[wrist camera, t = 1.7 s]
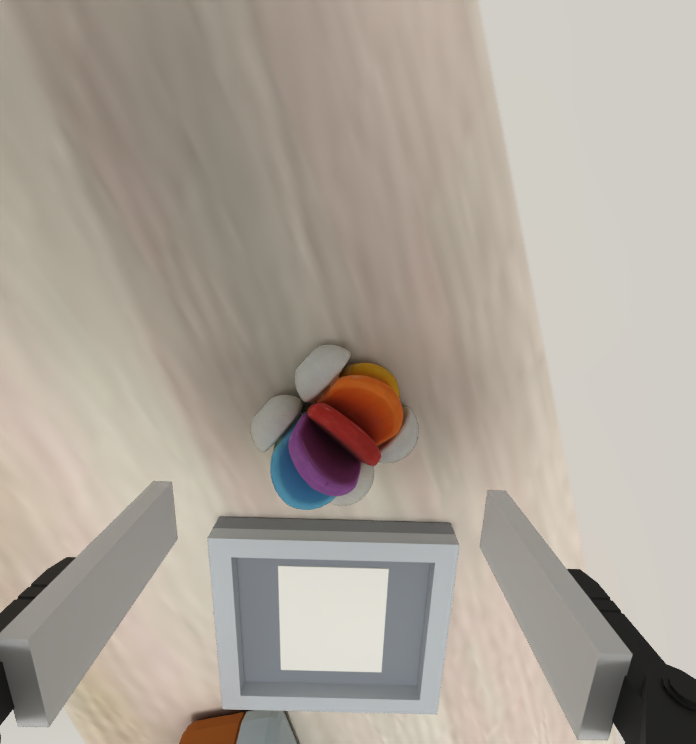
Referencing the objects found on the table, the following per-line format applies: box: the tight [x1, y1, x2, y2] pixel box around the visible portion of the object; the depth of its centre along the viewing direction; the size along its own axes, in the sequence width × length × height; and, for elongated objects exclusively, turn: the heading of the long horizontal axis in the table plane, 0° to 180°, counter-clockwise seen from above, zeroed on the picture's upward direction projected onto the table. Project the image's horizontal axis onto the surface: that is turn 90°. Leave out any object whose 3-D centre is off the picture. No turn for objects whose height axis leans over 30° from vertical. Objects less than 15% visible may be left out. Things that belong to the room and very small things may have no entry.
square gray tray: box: [207, 517, 459, 714], centre depth 26 cm, size 16×17×2 cm
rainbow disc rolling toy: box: [251, 345, 418, 510], centre depth 20 cm, size 8×10×7 cm
